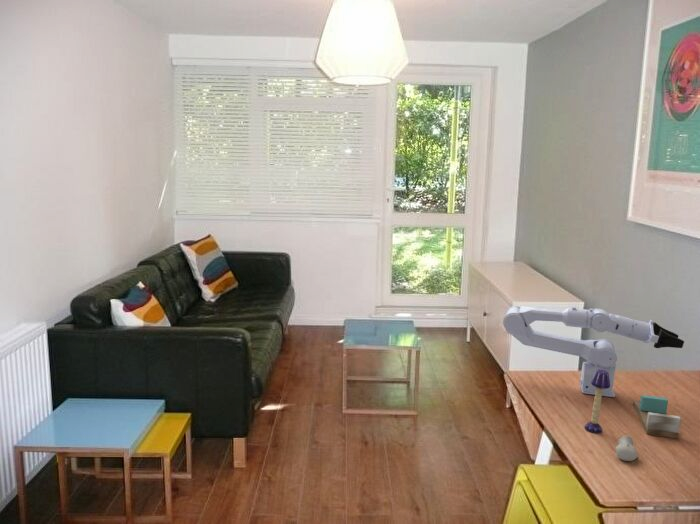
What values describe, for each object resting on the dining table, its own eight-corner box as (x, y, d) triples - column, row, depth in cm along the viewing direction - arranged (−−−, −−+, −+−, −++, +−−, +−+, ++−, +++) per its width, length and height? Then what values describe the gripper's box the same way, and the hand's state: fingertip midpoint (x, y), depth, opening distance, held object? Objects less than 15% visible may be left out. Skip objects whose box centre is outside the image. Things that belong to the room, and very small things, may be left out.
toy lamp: (589, 423, 160) (597, 366, 156) (606, 429, 156) (614, 371, 153) (582, 429, 156) (589, 370, 153) (599, 435, 153) (607, 376, 150)
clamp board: (646, 433, 155) (649, 414, 154) (632, 404, 173) (635, 387, 172) (677, 438, 153) (680, 419, 152) (660, 408, 171) (663, 390, 170)
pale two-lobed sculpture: (632, 469, 139) (610, 457, 142) (635, 454, 146) (615, 443, 148) (640, 456, 138) (618, 444, 140) (643, 441, 145) (623, 430, 147)
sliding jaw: (640, 410, 165) (642, 397, 164) (639, 407, 167) (641, 394, 166) (666, 413, 163) (668, 400, 162) (664, 411, 165) (666, 397, 164)
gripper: (638, 320, 168) (690, 334, 164) (631, 311, 181) (678, 323, 178) (631, 343, 169) (682, 357, 165) (625, 332, 183) (671, 345, 179)
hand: (680, 341), depth 171 cm, fingers open, 7 cm apart
